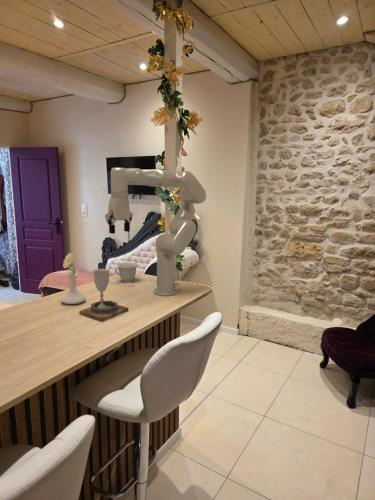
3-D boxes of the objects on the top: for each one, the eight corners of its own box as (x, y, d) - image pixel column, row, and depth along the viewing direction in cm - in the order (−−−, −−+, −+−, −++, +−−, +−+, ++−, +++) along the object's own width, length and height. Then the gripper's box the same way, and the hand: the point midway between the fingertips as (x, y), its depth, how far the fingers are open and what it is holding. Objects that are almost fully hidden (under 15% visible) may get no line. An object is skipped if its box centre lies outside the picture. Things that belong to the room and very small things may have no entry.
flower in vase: (61, 299, 164) (59, 249, 160) (85, 297, 168) (84, 248, 163) (60, 308, 152) (57, 254, 147) (86, 306, 156) (84, 253, 151)
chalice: (95, 314, 142) (94, 273, 139) (91, 308, 148) (91, 269, 145) (112, 311, 146) (112, 271, 143) (108, 306, 152) (108, 268, 148)
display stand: (106, 304, 159) (106, 297, 158) (128, 310, 152) (128, 303, 151) (79, 314, 146) (79, 306, 145) (101, 322, 138) (101, 314, 138)
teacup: (109, 281, 196) (108, 265, 194) (128, 277, 207) (128, 261, 205) (122, 286, 188) (122, 269, 186) (141, 281, 200) (141, 264, 198)
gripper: (126, 195, 162) (126, 230, 165) (99, 195, 148) (100, 233, 151) (138, 195, 158) (138, 231, 161) (111, 195, 144) (111, 235, 147)
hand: (119, 232), depth 156 cm, fingers open, 9 cm apart
